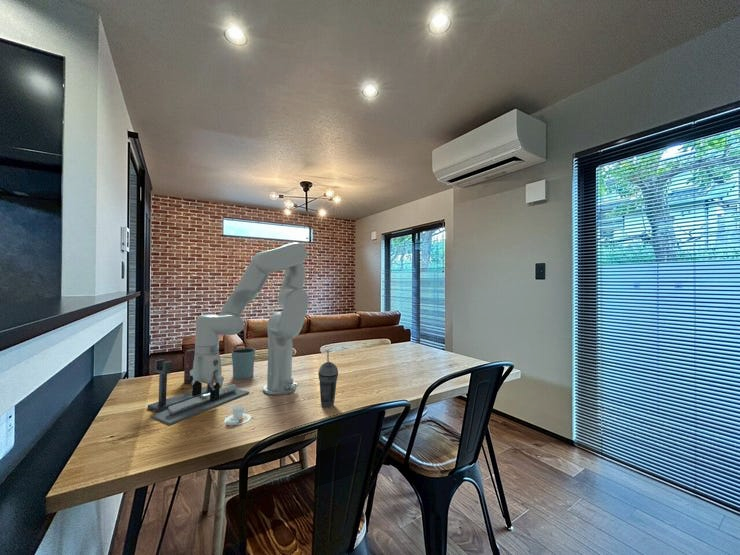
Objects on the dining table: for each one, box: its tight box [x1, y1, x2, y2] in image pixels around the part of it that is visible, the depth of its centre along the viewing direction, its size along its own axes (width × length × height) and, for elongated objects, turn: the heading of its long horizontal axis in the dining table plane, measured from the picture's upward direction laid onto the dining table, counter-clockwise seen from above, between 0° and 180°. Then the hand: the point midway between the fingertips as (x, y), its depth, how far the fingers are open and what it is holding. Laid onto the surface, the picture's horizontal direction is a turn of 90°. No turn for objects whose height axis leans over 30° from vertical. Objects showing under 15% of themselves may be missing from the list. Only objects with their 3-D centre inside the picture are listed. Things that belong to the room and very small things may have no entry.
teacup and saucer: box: [223, 405, 252, 426], centre depth 96 cm, size 9×8×4 cm
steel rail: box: [167, 383, 238, 416], centre depth 107 cm, size 24×3×3 cm, turn 153°
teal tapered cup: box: [231, 347, 256, 380], centre depth 139 cm, size 10×10×12 cm
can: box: [183, 347, 195, 385], centre depth 130 cm, size 6×6×14 cm
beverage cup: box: [317, 349, 339, 409], centre depth 109 cm, size 7×7×20 cm
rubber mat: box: [150, 388, 250, 426], centre depth 107 cm, size 10×30×1 cm, turn 153°
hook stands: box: [147, 358, 223, 413], centre depth 112 cm, size 6×24×16 cm, turn 153°
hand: (205, 397), depth 107 cm, fingers open, 9 cm apart
